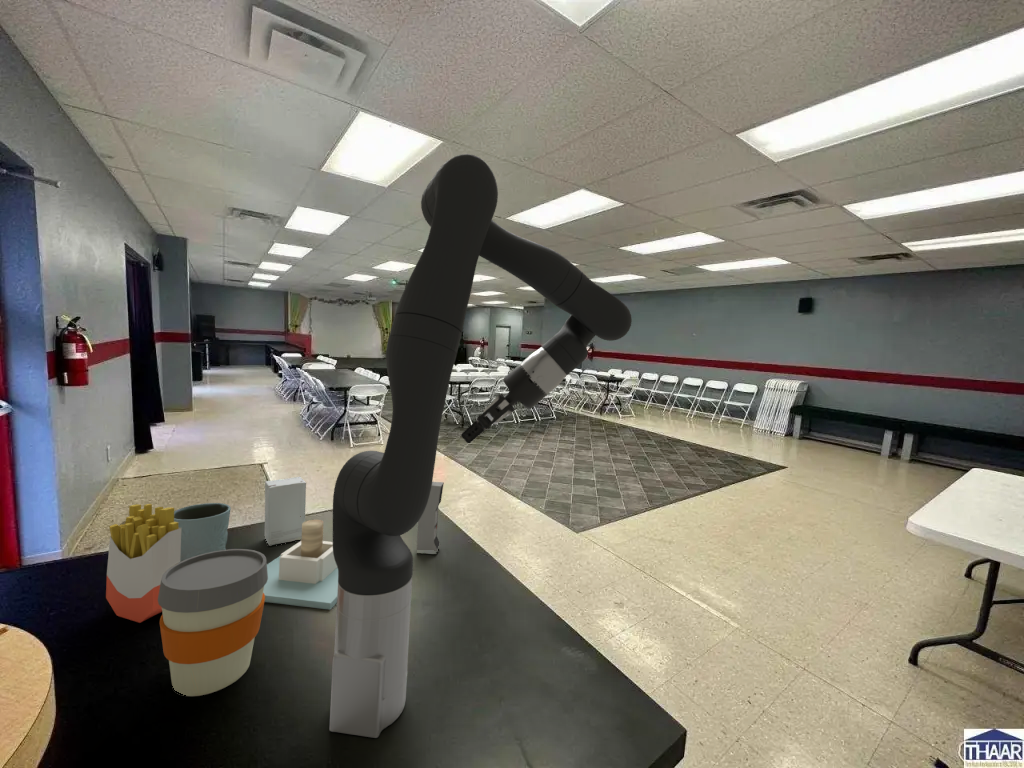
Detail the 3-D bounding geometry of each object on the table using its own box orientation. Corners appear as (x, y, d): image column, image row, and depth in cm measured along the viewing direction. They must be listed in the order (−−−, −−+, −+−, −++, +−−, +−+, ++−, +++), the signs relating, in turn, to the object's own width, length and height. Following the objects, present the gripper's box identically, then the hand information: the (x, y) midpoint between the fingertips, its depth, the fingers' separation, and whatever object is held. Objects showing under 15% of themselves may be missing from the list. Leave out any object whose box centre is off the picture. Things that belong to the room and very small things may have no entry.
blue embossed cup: (239, 558, 91) (241, 505, 91) (201, 581, 81) (203, 521, 81) (197, 554, 92) (199, 500, 92) (153, 576, 82) (156, 516, 82)
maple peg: (314, 576, 84) (316, 527, 83) (295, 574, 84) (297, 525, 84) (325, 567, 88) (327, 520, 87) (307, 565, 88) (309, 518, 88)
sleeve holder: (330, 609, 75) (331, 578, 75) (227, 597, 77) (228, 567, 76) (376, 560, 95) (378, 535, 95) (294, 551, 97) (295, 527, 96)
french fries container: (149, 627, 67) (153, 518, 66) (102, 613, 70) (105, 508, 69) (178, 612, 71) (182, 509, 71) (133, 599, 74) (137, 500, 74)
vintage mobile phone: (437, 555, 99) (442, 451, 98) (416, 554, 99) (422, 450, 98) (440, 548, 103) (445, 448, 102) (419, 547, 103) (425, 447, 102)
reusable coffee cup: (246, 631, 67) (250, 541, 67) (278, 670, 60) (283, 568, 59) (144, 672, 58) (148, 566, 57) (167, 725, 50) (172, 603, 49)
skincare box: (299, 532, 107) (302, 475, 107) (305, 540, 102) (308, 481, 102) (262, 539, 102) (264, 479, 101) (266, 548, 97) (269, 485, 97)
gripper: (524, 363, 83) (464, 416, 84) (518, 361, 68) (446, 425, 70) (549, 391, 82) (488, 444, 84) (548, 395, 68) (475, 458, 69)
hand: (469, 435), depth 77 cm, fingers open, 8 cm apart
